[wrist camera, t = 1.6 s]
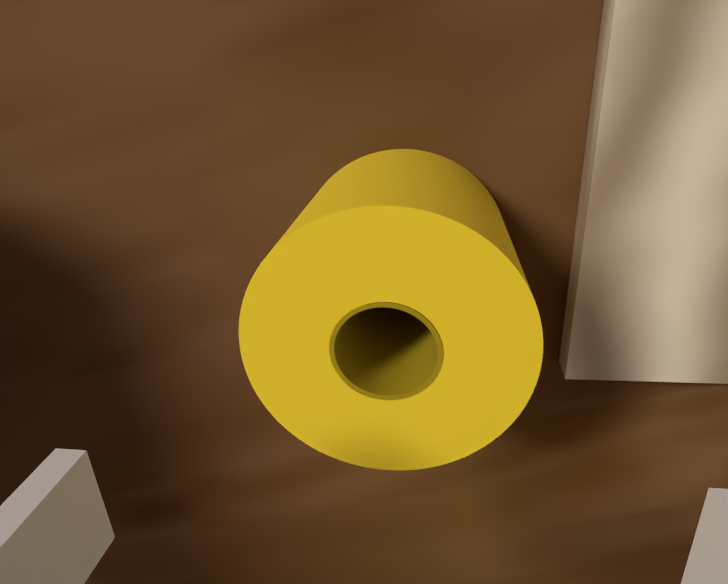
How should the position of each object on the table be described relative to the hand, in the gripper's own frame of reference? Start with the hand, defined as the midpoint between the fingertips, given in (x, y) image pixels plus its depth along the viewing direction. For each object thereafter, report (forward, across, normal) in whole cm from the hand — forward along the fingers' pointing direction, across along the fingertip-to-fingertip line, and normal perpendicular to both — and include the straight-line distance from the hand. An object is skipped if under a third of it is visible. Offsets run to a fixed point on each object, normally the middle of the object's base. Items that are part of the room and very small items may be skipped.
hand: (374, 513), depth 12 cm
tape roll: (+16, 0, 0) cm, 16 cm away
